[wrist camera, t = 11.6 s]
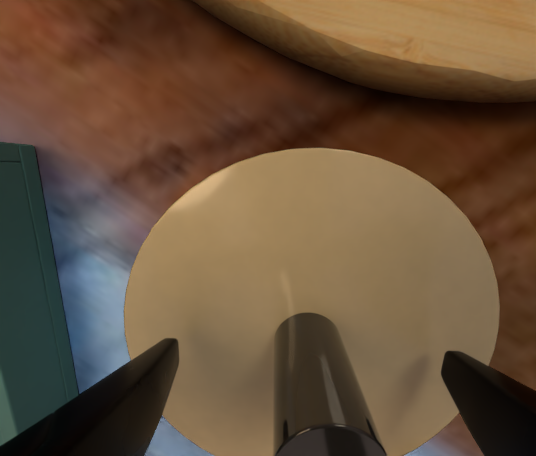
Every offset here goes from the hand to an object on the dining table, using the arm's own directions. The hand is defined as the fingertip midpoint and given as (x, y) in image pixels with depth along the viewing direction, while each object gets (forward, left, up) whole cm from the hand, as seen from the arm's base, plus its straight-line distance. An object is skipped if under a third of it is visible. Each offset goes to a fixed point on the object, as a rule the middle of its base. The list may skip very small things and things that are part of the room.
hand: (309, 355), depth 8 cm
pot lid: (0, 0, -1) cm, 1 cm away
